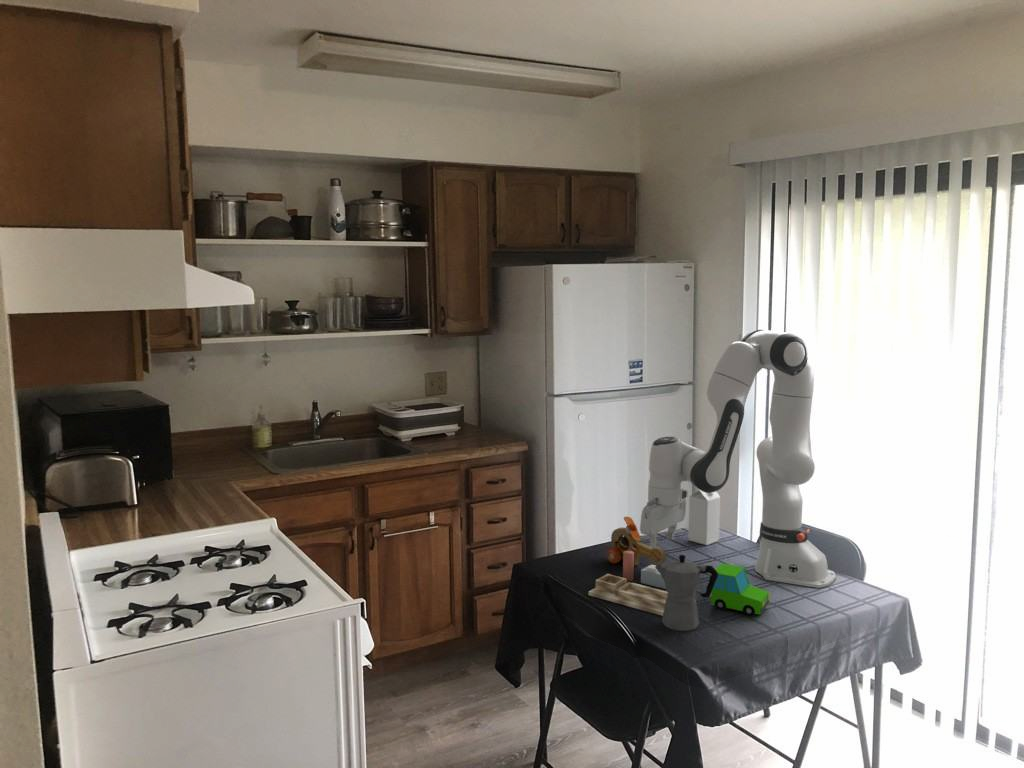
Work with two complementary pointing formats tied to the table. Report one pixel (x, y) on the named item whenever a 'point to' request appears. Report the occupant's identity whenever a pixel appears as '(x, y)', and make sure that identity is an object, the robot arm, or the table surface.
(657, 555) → the toy helicopter
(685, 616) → the coffeepot
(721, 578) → the toy car
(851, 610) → the table surface
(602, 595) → the jig
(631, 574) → the tail peg
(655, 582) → the blue slab with cube
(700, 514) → the milk carton
